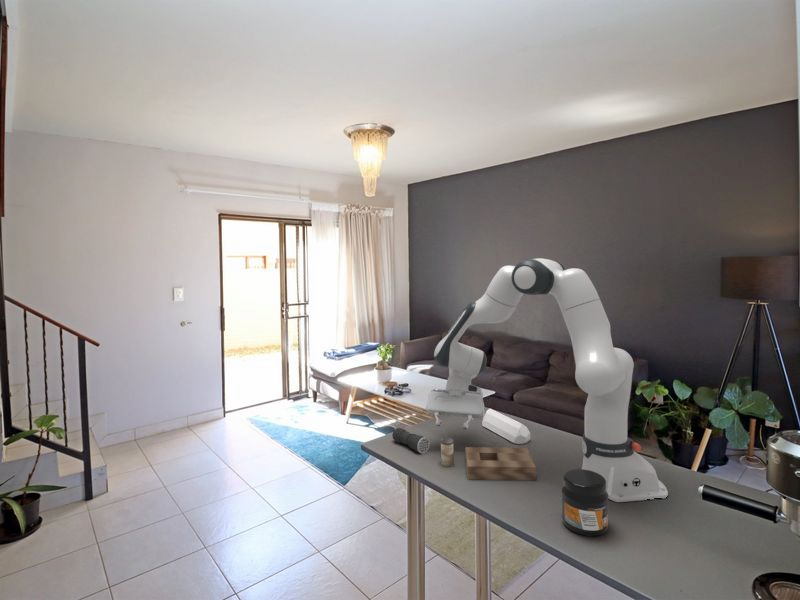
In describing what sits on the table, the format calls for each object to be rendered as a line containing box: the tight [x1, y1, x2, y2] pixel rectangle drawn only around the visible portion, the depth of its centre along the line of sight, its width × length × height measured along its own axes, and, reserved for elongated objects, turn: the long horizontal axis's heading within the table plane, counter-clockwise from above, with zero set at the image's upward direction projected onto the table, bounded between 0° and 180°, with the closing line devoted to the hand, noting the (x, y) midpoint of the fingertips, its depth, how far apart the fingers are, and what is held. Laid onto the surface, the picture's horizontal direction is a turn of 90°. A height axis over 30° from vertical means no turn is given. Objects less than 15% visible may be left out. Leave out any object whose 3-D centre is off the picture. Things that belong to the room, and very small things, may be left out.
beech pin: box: [440, 437, 455, 468], centre depth 141 cm, size 4×4×8 cm
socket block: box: [464, 446, 537, 481], centre depth 136 cm, size 20×14×4 cm
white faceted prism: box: [481, 408, 531, 445], centre depth 165 cm, size 7×7×24 cm
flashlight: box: [392, 427, 431, 454], centre depth 156 cm, size 15×5×5 cm, turn 39°
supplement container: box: [560, 468, 609, 537], centre depth 105 cm, size 10×10×12 cm
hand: (451, 427), depth 146 cm, fingers open, 8 cm apart
